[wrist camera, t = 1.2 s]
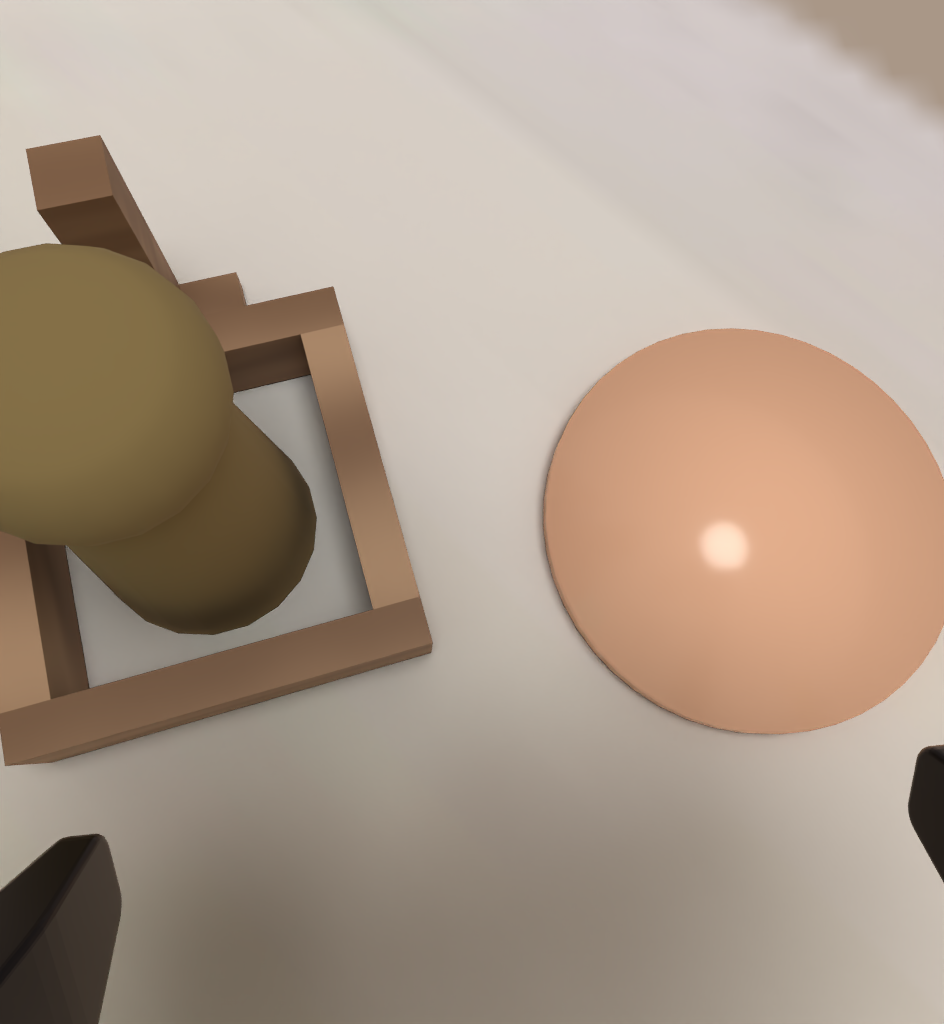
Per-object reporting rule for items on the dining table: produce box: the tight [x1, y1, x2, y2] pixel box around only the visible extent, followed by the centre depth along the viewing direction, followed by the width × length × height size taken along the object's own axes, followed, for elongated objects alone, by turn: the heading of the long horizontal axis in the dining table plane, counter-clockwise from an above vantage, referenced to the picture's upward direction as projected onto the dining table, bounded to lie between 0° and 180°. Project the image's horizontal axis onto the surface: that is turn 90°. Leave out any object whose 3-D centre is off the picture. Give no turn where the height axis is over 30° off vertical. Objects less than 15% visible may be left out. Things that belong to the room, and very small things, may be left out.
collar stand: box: [0, 135, 433, 766], centre depth 20 cm, size 12×10×7 cm
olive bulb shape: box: [0, 243, 317, 635], centre depth 18 cm, size 6×6×11 cm
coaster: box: [543, 328, 944, 734], centre depth 24 cm, size 12×12×1 cm
